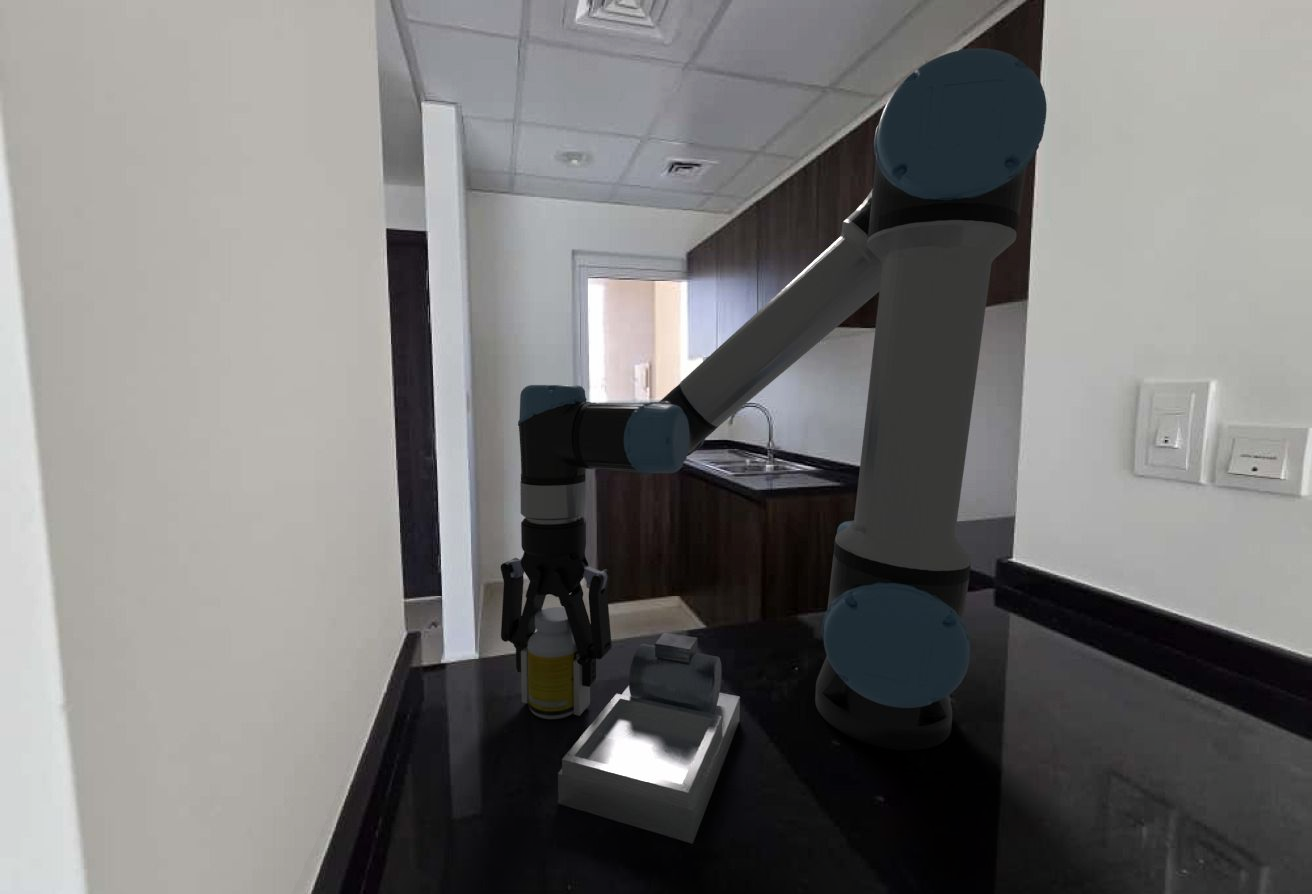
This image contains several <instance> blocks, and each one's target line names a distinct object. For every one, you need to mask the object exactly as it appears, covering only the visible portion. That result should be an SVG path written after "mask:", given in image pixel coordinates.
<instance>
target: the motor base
mask: <svg viewBox="0 0 1312 894" xmlns="http://www.w3.org/2000/svg"><path fill="white" fill-rule="evenodd" d="M654 644H655V645H653V644H646V643H641V644H640V645H639V646H638V647H637V648H636V650H635V652H634V654H633V658H632V661H631V665H630V669H629V679H628V686H627V687H626V688H625V689H624V691H623V692H622V694H620V693H616V694H615V695H614V696H613V697H612V698H611V700H610V701H609V702H608V703H607V704H606V705H605V707H604V708H603V709H602V711H600V713H599V714H598V715H597V717H596V718H595V719H594V720H593V721H592V723H591V724H589V726H587V728H586V729H585V731H584V732H583V733H582V734H581V736H580V737H579V738H578V740H577V741H575V743H574V744H573V745H572V747H571V748H570V749H569V750H568V751H567V753H566V754H565V755H564V756H563V758H562V759H561V769H560V770H559V771H558V773H557V787H558V788H557V789H558V790H557V793H558V794H557V795H558V796H557V797H558V799H557V802H558V805H562V806H564V807H565V806H566V807H568V808H572V809H574V810H575V809H576V810H578V811H583V812H585V813H589V814H591V815H595V816H598V817H601V818H605V819H609V820H613V821H615V822H618V823H623V824H626V825H629V826H632V827H635V828H638V829H642V830H646V831H648V832H652V833H655V834H657V835H658V834H659V835H663V836H666V837H667V838H673V839H676V840H679V841H681V842H686V843H689V844H694V842H695V839H696V836H697V833H698V831H699V828H700V825H701V824H702V821H703V818H704V815H705V812H706V810H707V808H708V805H709V802H710V798H711V797H712V794H713V791H714V789H715V786H716V785H717V784H716V783H717V781H718V778H719V775H720V773H721V771H722V768H723V765H724V762H725V760H726V758H727V757H726V756H727V754H728V753H729V749H730V747H731V744H732V741H733V739H734V737H735V733H736V731H737V729H738V725H739V723H740V713H741V712H740V707H741V705H740V704H741V703H740V702H741V697H740V696H738V695H734V694H728V693H723V692H720V691H721V686H722V662H721V659H720V657H719V656H717V655H716V656H714V655H710V654H704V653H700V652H699V653H698V637H693V636H687V635H681V634H676V633H669V632H663V633H662V634H661V636H660V637H659V638H658V639H657V641H656V642H655V643H654Z"/></svg>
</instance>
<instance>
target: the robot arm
mask: <svg viewBox="0 0 1312 894" xmlns="http://www.w3.org/2000/svg"><path fill="white" fill-rule="evenodd" d="M1047 110H1048V109H1047V97H1046V93H1045V91H1044V87H1043V85H1042V83H1041V81H1040V79H1039V77H1038V76H1037V74H1036V73H1035V71H1033V70H1032V68H1030V67H1028V66H1027V65H1026V64H1025V63H1024V62H1022V61H1021V60H1020V59H1019V58H1017V57H1016V56H1014V55H1012V54H1010V53H1008V52H1005V51H1002V50H998V49H992V48H984V47H983V48H980V47H979V48H978V47H977V48H975V47H974V48H966V49H960V50H955V51H952V52H948V53H944V54H943V55H940V56H938V57H935V58H933V59H931V60H930V61H928V62H926V63H924V64H923V65H921V66H920V67H918V68H917V69H915V70H914V71H913V72H912V73H911V74H910V75H908V76H907V77H906V78H905V80H903V81H902V82H901V83H900V84H899V85H898V86H897V88H896V89H895V90H894V91H893V93H892V94H891V96H890V97H889V99H888V100H887V103H886V104H885V107H884V108H883V110H882V112H881V113H882V114H881V117H880V119H879V122H878V124H877V127H876V128H875V133H874V140H873V150H874V155H875V162H874V163H875V166H874V167H875V168H874V176H873V186H872V189H871V190H870V192H869V194H868V195H867V197H866V198H865V199H864V200H863V202H862V203H861V204H860V205H859V206H858V207H857V208H856V210H855V211H852V213H851V214H850V215H849V216H848V217H847V218H846V219H845V220H843V222H842V224H841V225H842V226H841V233H840V236H839V237H838V238H837V239H836V240H835V241H834V242H833V243H832V244H830V246H829V247H827V248H826V249H825V250H824V251H823V252H822V253H820V255H818V256H817V257H816V258H815V259H814V260H813V261H812V262H810V264H809V265H807V266H806V267H805V268H804V269H803V270H802V271H801V272H800V273H799V274H798V275H797V276H795V278H793V279H792V280H790V282H789V283H788V284H786V286H785V287H783V288H782V289H781V290H779V292H778V293H777V294H775V295H774V296H773V297H772V298H771V299H770V300H769V301H768V302H767V303H766V304H765V305H764V306H763V307H761V308H760V309H759V310H758V311H757V312H756V313H755V314H754V315H753V316H752V317H751V318H749V319H748V320H747V321H746V322H745V323H744V324H742V326H740V327H739V329H737V330H736V331H735V332H734V333H733V334H732V335H730V336H729V338H727V339H726V340H725V341H724V342H723V343H722V344H721V345H720V346H718V348H716V349H715V350H714V351H713V352H712V353H711V354H710V355H708V357H707V358H705V360H703V361H702V362H701V363H700V364H699V365H697V366H696V367H695V368H694V370H692V371H691V372H690V373H689V374H688V375H686V377H684V379H682V380H681V381H680V383H679V384H678V385H676V386H675V387H674V388H673V389H671V390H670V392H669V393H667V394H666V395H665V396H664V397H662V398H661V400H660V401H659V400H658V401H653V402H607V403H606V402H605V403H603V402H599V403H597V402H591V401H587V396H586V391H585V389H584V387H583V386H581V385H577V384H576V385H573V384H572V385H571V384H529V385H527V386H525V387H523V389H522V390H521V391H520V395H519V420H518V422H517V425H518V431H519V432H518V433H519V450H520V451H519V452H520V471H521V472H520V482H519V483H520V492H519V493H520V514H521V515H522V516H523V517H524V518H523V519H522V521H521V522H520V524H521V525H520V528H521V529H520V530H521V531H520V535H521V536H520V537H521V539H520V543H521V549H522V551H523V554H522V557H521V558H520V559H519V558H518V557H513V558H511V559H510V560H507V561H506V562H504V563H502V564H500V571H501V576H502V580H503V591H502V592H503V593H502V594H503V595H502V607H501V608H502V610H501V627H500V639H501V641H503V642H505V643H506V642H510V643H511V644H512V645H513V647H514V648H515V663H516V664H515V669H516V671H517V673H521V677H520V678H521V681H520V682H521V683H520V684H521V685H520V686H521V703H524V704H529V682H528V641H529V639H530V637H531V636H532V635H533V634H534V633H535V632H536V630H537V629H536V628H535V615H536V613H537V612H539V611H540V610H543V607H544V603H545V600H546V597H547V596H548V595H551V596H553V597H555V598H558V600H559V603H560V607H561V606H562V607H564V608H565V611H566V615H567V618H568V621H569V625H570V628H571V631H572V634H573V638H574V641H575V644H576V647H577V651H578V654H579V657H578V658H577V659H575V660H574V661H573V669H574V713H573V715H575V716H581V715H582V714H583V712H584V711H585V710H587V708H588V707H589V706H590V704H591V686H592V685H593V684H594V683H595V681H596V679H597V660H601V659H602V658H604V656H605V655H606V654H607V653H608V652H609V651H610V650H611V649H612V646H613V645H612V634H611V633H612V632H611V624H610V610H609V598H608V586H609V582H610V578H611V572H610V571H609V570H608V569H606V568H604V569H602V570H599V569H597V568H594V567H591V566H589V562H588V560H587V558H586V547H587V520H586V518H585V517H584V516H582V515H584V514H585V512H586V511H587V507H586V505H587V503H586V497H587V496H586V495H587V493H586V490H587V489H586V480H587V479H586V478H587V477H586V470H605V471H616V472H617V471H620V472H631V473H632V472H633V473H643V474H644V475H653V474H673V473H677V472H678V471H679V470H680V469H681V468H683V465H684V462H685V461H686V460H687V457H688V456H690V455H692V454H693V453H694V452H696V451H697V450H698V449H700V448H701V447H702V446H703V445H704V443H705V440H707V439H706V438H708V437H709V436H711V434H712V433H714V431H716V430H717V429H718V428H719V427H720V426H721V425H722V424H724V423H725V422H726V421H727V420H728V419H729V418H731V417H732V416H733V415H734V414H736V412H738V411H739V410H740V409H741V408H742V407H743V406H745V405H746V404H747V403H749V401H750V400H752V399H753V398H754V397H756V396H757V395H758V394H759V393H760V392H761V391H763V390H764V389H765V388H767V386H769V385H770V384H772V382H773V381H775V380H776V379H777V378H778V377H779V376H781V374H783V373H784V372H786V370H788V369H789V368H791V366H792V365H793V364H795V363H796V362H797V361H798V360H799V359H801V358H802V357H804V355H806V354H807V353H808V352H809V351H810V350H811V349H813V348H814V347H815V346H816V345H818V343H820V342H821V341H822V340H823V339H825V338H826V337H827V336H828V335H829V334H831V332H833V331H834V330H835V329H837V328H838V327H839V326H840V325H841V324H842V323H843V322H845V321H846V320H847V319H848V318H849V317H850V316H852V315H853V314H855V312H858V310H859V309H861V308H862V307H863V306H864V305H865V304H866V303H867V302H868V301H869V300H871V299H872V298H873V297H875V296H876V295H877V294H878V293H879V295H878V302H877V303H878V305H877V312H876V320H875V331H874V339H873V349H872V356H871V357H872V358H871V365H870V375H869V384H868V391H867V392H868V394H867V401H866V410H865V421H864V429H863V437H862V438H863V440H862V448H861V455H860V465H859V474H858V483H857V491H856V500H855V508H854V509H855V510H854V516H853V517H854V519H853V520H848V521H843V522H842V523H840V524H839V525H838V527H837V531H836V535H835V538H834V539H835V540H834V548H833V556H832V566H831V572H830V583H829V590H828V591H829V592H828V593H829V594H828V600H827V601H828V602H827V610H826V612H825V614H824V616H823V620H822V626H821V635H822V636H821V637H822V640H823V645H824V646H823V647H824V651H825V654H826V657H825V658H824V661H823V664H822V667H821V669H820V671H819V673H818V676H817V679H816V683H815V699H814V700H815V702H814V703H815V706H816V709H817V711H818V712H819V715H821V717H822V718H823V719H824V721H826V722H827V723H829V724H830V725H831V726H832V727H833V728H835V729H836V730H838V731H839V732H841V733H843V734H845V735H847V736H849V738H853V739H855V740H858V741H860V742H863V743H865V744H868V745H873V746H876V747H880V748H884V749H885V748H886V749H891V750H899V751H919V750H925V749H931V748H934V747H937V746H939V745H941V744H943V743H944V742H946V741H947V740H948V739H949V737H950V735H951V732H952V727H953V726H952V723H953V709H952V708H953V707H952V703H951V700H950V695H951V694H952V693H953V692H955V690H956V689H958V687H959V685H961V683H962V682H963V680H964V678H965V677H966V674H967V672H968V668H969V664H970V656H971V644H970V635H969V633H968V630H967V627H966V625H965V623H964V622H965V621H964V619H965V618H964V617H965V612H966V611H965V610H966V605H967V604H966V603H967V595H968V589H969V582H970V572H971V565H972V556H971V555H970V554H969V553H968V552H967V551H966V549H965V548H964V547H963V546H962V544H960V543H959V542H958V539H957V537H956V533H957V532H956V531H957V523H958V517H959V510H960V508H959V507H960V501H961V494H962V493H961V492H962V485H963V479H964V471H965V466H966V465H965V464H966V458H967V457H966V456H967V448H968V441H969V434H970V433H969V432H970V427H971V420H972V419H971V418H972V412H973V411H972V410H973V403H974V397H975V389H976V381H977V374H978V368H979V367H978V366H979V361H980V352H981V345H982V337H983V331H984V330H983V329H984V323H985V315H986V308H987V300H988V291H989V285H990V278H991V277H990V276H991V271H992V270H991V269H992V263H993V261H994V260H995V259H996V258H997V257H999V256H1000V255H1001V254H1002V253H1003V252H1004V251H1005V250H1007V249H1008V248H1009V247H1010V246H1011V245H1012V244H1014V243H1015V241H1016V239H1017V236H1018V235H1017V234H1018V228H1019V220H1020V214H1021V208H1022V207H1021V206H1022V201H1023V192H1024V185H1025V178H1026V173H1027V168H1028V167H1027V166H1028V165H1029V163H1030V162H1031V160H1032V159H1033V157H1034V155H1035V154H1036V152H1037V151H1038V149H1040V148H1039V147H1040V143H1041V142H1042V139H1043V137H1044V131H1045V125H1046V119H1047ZM524 575H526V577H527V578H528V580H529V583H528V586H527V590H526V594H525V598H526V599H525V603H524V606H523V597H524V596H523V594H524ZM583 579H585V580H586V584H585V586H586V588H587V589H588V607H589V614H588V612H587V609H586V605H585V602H584V591H583V587H582V583H581V582H582V581H583Z"/></svg>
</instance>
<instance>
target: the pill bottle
mask: <svg viewBox="0 0 1312 894" xmlns="http://www.w3.org/2000/svg"><path fill="white" fill-rule="evenodd" d="M535 628H536V629H535V630H536V631H535V633H534V634H533V635H532V636H531V637H530V639H529V641H528V682H529V702H528V707H529V711H530V712H531V713H532V714H533V715H535V716H536V717H538V718H541V719H544V720H559V719H564V718H568V717H569V716H572V715H574V669H573V661H574V660H575V659H577V658H578V657H579V654H578V651H577V647H576V644H575V641H574V638H573V634H572V631H571V628H570V625H569V621H568V618H567V615H566V611H565V608H564V607H563V606H562V607H561V606H553V607H551V606H550V607H547V608H542V610H540V611H539V612H537V613H536V615H535Z"/></svg>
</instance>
